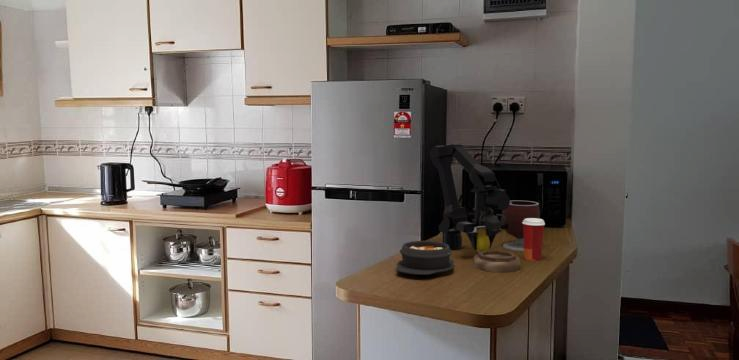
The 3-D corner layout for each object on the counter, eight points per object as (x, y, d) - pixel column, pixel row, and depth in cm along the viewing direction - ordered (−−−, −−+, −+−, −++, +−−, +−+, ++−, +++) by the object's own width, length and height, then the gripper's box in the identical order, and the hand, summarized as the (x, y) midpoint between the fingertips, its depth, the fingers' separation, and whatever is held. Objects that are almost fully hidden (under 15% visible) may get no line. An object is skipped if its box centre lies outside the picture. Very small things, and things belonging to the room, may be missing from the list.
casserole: (437, 283, 190) (438, 256, 189) (382, 275, 199) (382, 249, 198) (465, 265, 212) (466, 241, 211) (415, 259, 221) (415, 235, 220)
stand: (465, 266, 210) (465, 254, 210) (488, 259, 222) (488, 247, 221) (505, 274, 201) (506, 261, 200) (527, 266, 212) (528, 253, 212)
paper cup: (544, 257, 225) (546, 218, 223) (543, 262, 217) (544, 222, 216) (522, 255, 227) (523, 217, 225) (519, 260, 220) (521, 220, 218)
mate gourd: (535, 243, 247) (537, 193, 245) (541, 251, 234) (543, 198, 231) (495, 242, 249) (496, 192, 247) (498, 250, 235) (500, 197, 233)
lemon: (472, 252, 228) (472, 231, 227) (487, 252, 228) (487, 230, 227) (476, 256, 222) (476, 234, 221) (491, 256, 223) (492, 233, 222)
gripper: (473, 211, 212) (472, 256, 214) (519, 207, 220) (517, 252, 221) (455, 206, 222) (454, 249, 224) (499, 203, 230) (498, 245, 231)
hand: (481, 249), depth 225 cm, fingers closed on lemon, 5 cm apart
